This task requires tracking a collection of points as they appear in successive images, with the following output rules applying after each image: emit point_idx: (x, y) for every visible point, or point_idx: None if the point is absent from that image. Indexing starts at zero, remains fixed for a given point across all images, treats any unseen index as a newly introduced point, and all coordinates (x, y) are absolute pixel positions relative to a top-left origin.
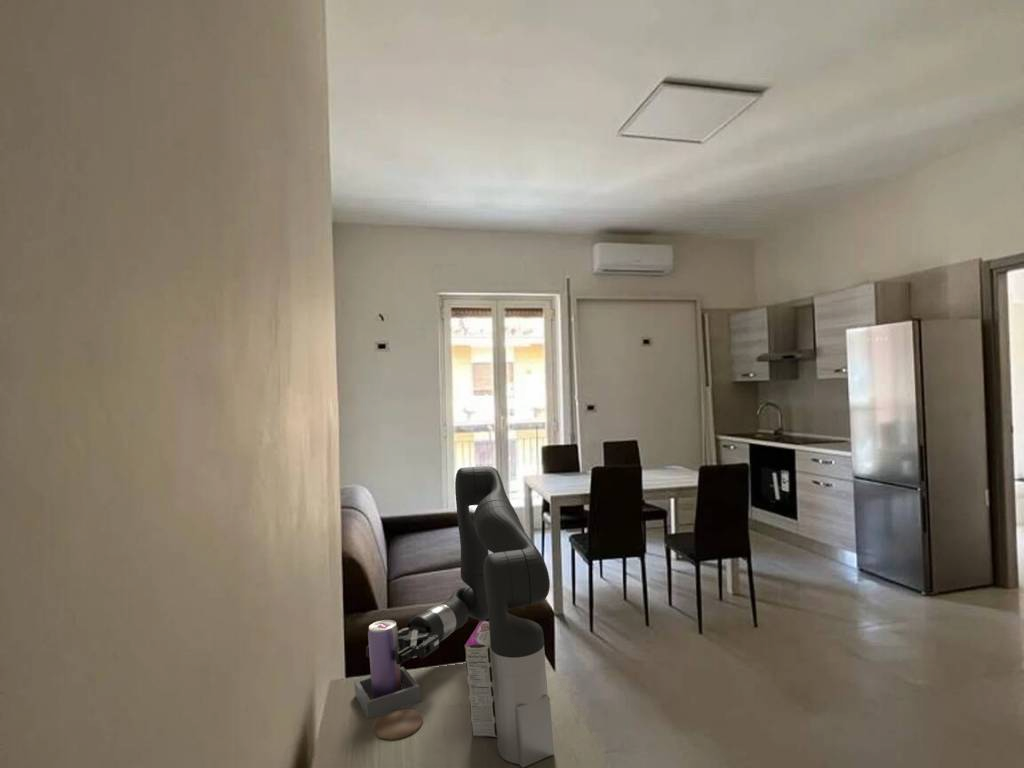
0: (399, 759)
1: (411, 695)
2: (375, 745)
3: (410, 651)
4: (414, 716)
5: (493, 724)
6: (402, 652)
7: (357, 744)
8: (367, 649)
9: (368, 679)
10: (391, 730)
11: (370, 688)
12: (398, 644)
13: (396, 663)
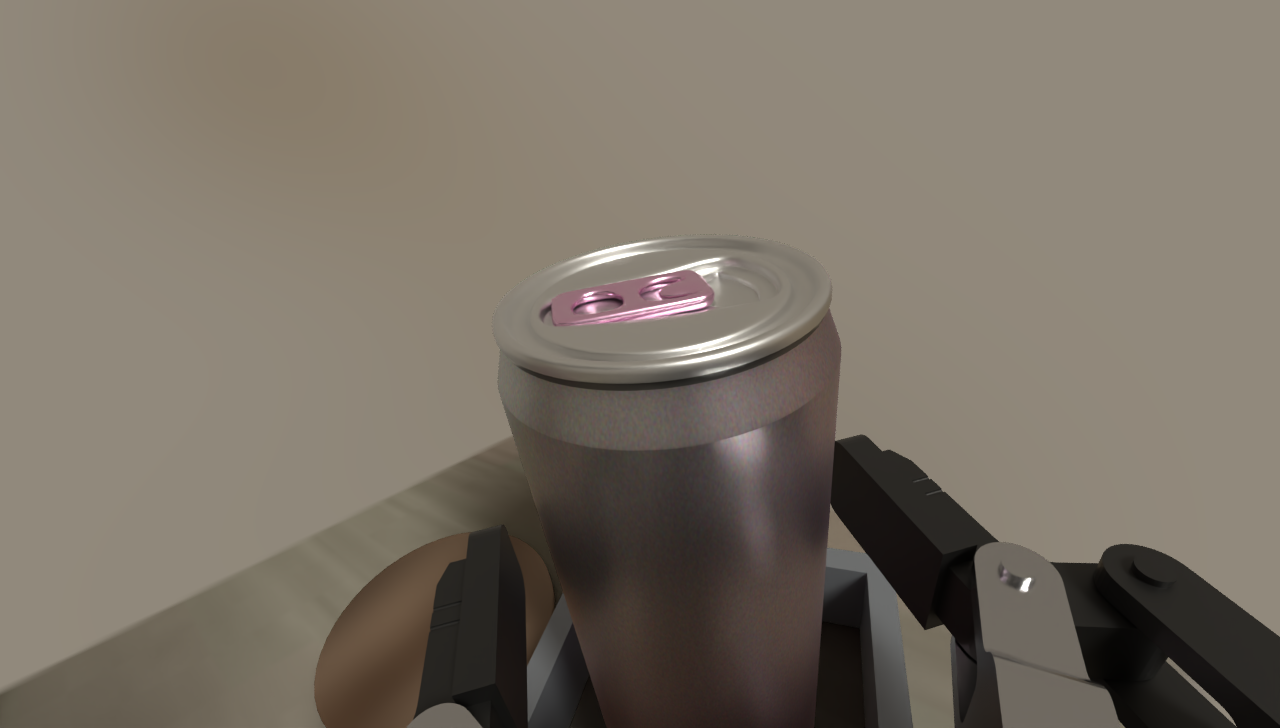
0: (317, 533)
1: None
2: (449, 515)
3: (426, 677)
4: (384, 705)
5: None
6: (467, 576)
7: (513, 484)
8: (834, 446)
9: (870, 629)
10: (432, 572)
11: (865, 677)
12: (579, 576)
13: (521, 575)
